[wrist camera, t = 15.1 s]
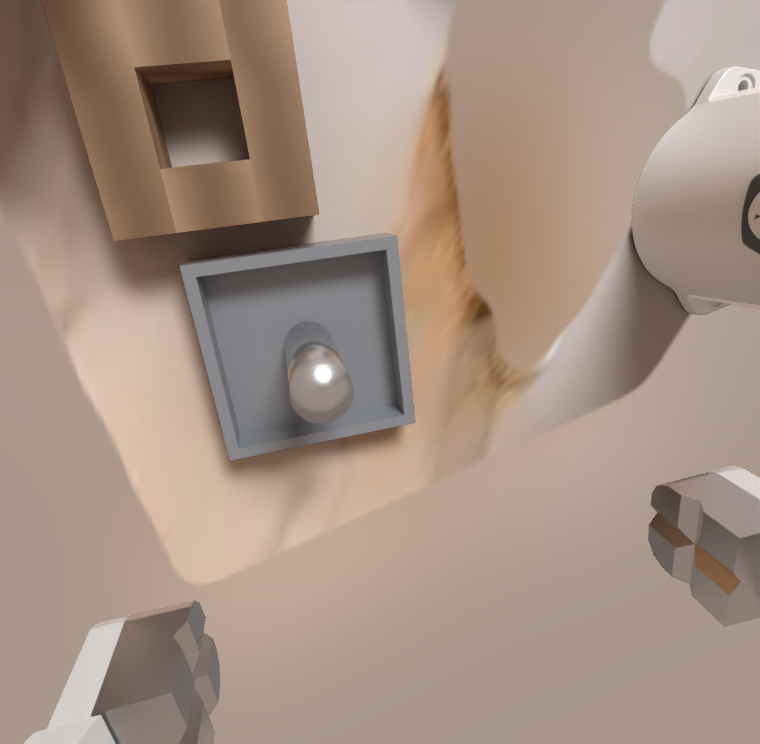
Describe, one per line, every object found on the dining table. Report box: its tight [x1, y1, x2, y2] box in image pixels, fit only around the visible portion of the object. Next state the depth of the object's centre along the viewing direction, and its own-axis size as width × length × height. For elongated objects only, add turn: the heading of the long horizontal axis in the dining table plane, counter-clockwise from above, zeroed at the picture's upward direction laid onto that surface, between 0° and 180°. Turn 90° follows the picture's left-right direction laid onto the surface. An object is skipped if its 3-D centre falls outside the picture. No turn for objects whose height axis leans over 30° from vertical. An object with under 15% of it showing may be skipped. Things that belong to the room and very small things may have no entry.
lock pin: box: [285, 321, 354, 423], centre depth 31 cm, size 4×4×10 cm
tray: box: [180, 233, 415, 461], centre depth 35 cm, size 14×14×3 cm
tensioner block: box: [41, 0, 319, 241], centre depth 29 cm, size 12×12×4 cm
